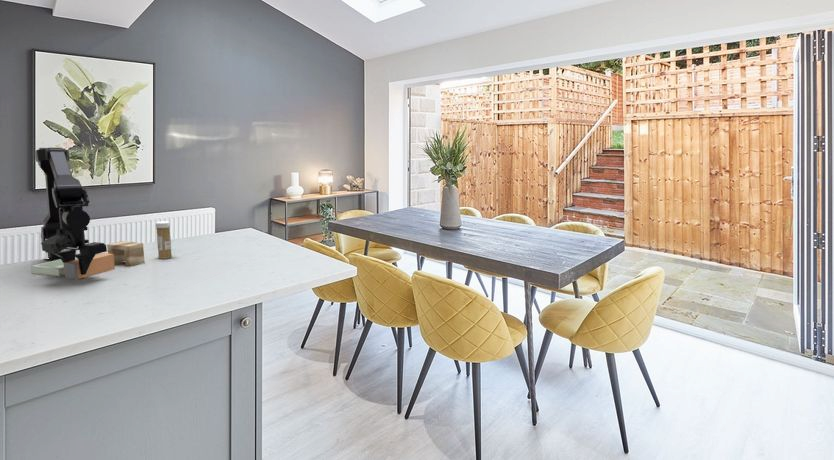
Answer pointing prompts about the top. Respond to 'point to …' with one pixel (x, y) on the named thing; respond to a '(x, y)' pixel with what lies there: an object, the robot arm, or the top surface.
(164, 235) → the sprinkles bottle
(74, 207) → the robot arm
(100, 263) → the orange rectangular block
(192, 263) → the top surface
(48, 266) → the tray
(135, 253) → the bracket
